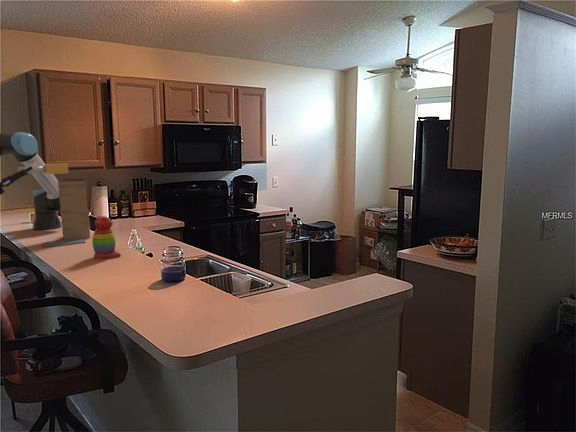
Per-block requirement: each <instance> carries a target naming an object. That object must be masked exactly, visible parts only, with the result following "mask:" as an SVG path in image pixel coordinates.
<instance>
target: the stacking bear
mask: <svg viewBox="0 0 576 432" xmlns="http://www.w3.org/2000/svg"><path fill="white" fill-rule="evenodd" d="M113 223H114V222H113V221H112V220H111V219H110V217H108V216H104V215H103V216H100V215H98V216H97V217H96V219H95V221H94V226H95V231H94V232H93V235H92V248H93V251H94V254H93V255H94V256H93V258H94V259H96V260H106V259H109V260H110V259H116V258H120V257H121V255H122V254H121V253H120V252H118V251H116V250H115V249H116V244H117V243H116V237H115V233H114V231H113V229H111V228H112V226H113Z"/></svg>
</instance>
